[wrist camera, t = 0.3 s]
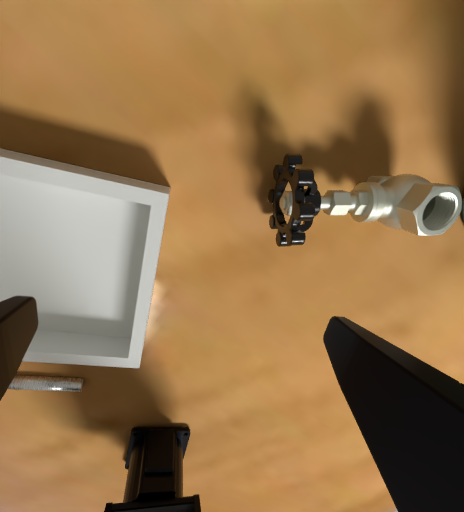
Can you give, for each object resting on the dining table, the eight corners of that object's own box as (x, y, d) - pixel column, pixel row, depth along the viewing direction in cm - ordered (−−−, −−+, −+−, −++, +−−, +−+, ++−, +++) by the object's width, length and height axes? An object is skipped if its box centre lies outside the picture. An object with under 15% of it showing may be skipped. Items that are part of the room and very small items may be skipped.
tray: (143, 343, 25) (139, 368, 23) (-47, 327, 22) (-81, 355, 19) (170, 187, 20) (168, 194, 18) (-71, 131, 17) (-122, 129, 14)
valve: (405, 156, 23) (271, 152, 21) (484, 160, 17) (307, 155, 15) (386, 229, 25) (265, 233, 23) (449, 256, 19) (293, 263, 17)
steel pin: (85, 376, 26) (82, 380, 25) (82, 389, 26) (79, 394, 25) (2, 372, 25) (-6, 376, 23) (-1, 385, 24) (-9, 390, 23)
